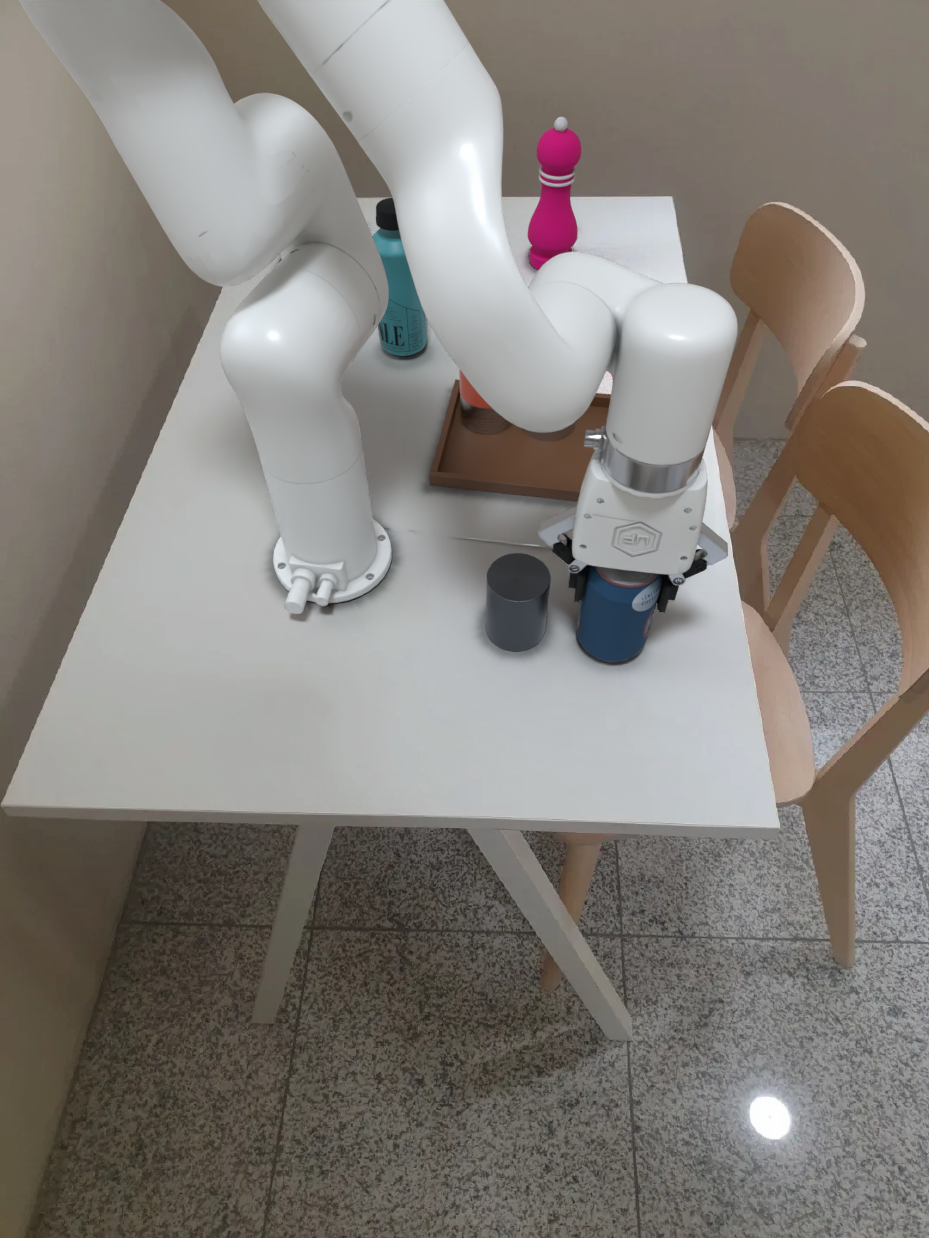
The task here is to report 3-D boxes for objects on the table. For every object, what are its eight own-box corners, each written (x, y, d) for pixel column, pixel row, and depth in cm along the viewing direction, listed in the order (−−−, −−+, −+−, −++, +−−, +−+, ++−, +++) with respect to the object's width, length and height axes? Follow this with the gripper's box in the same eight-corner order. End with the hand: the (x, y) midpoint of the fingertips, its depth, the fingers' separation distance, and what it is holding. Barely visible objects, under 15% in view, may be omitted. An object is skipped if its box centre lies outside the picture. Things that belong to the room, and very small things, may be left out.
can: (510, 437, 101) (514, 353, 91) (455, 432, 102) (454, 347, 92) (517, 402, 105) (522, 317, 95) (464, 397, 106) (463, 312, 96)
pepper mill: (519, 253, 127) (525, 109, 111) (564, 245, 128) (576, 102, 112) (536, 278, 122) (545, 133, 106) (581, 270, 124) (598, 125, 108)
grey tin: (541, 655, 83) (547, 605, 76) (481, 647, 83) (482, 597, 77) (548, 607, 86) (553, 556, 80) (490, 600, 87) (491, 549, 80)
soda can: (656, 658, 82) (680, 581, 73) (589, 675, 81) (605, 599, 71) (628, 605, 86) (647, 524, 77) (564, 620, 85) (576, 541, 75)
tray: (617, 509, 94) (620, 496, 93) (429, 488, 97) (429, 475, 95) (625, 408, 105) (628, 395, 103) (455, 392, 107) (455, 379, 105)
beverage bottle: (431, 338, 114) (424, 190, 98) (425, 368, 110) (416, 219, 94) (384, 336, 114) (369, 188, 98) (376, 366, 110) (359, 216, 94)
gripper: (532, 472, 62) (522, 615, 77) (771, 497, 61) (715, 640, 75) (543, 407, 67) (531, 554, 81) (766, 429, 65) (714, 576, 79)
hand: (619, 594), depth 78 cm, fingers closed on soda can, 7 cm apart
